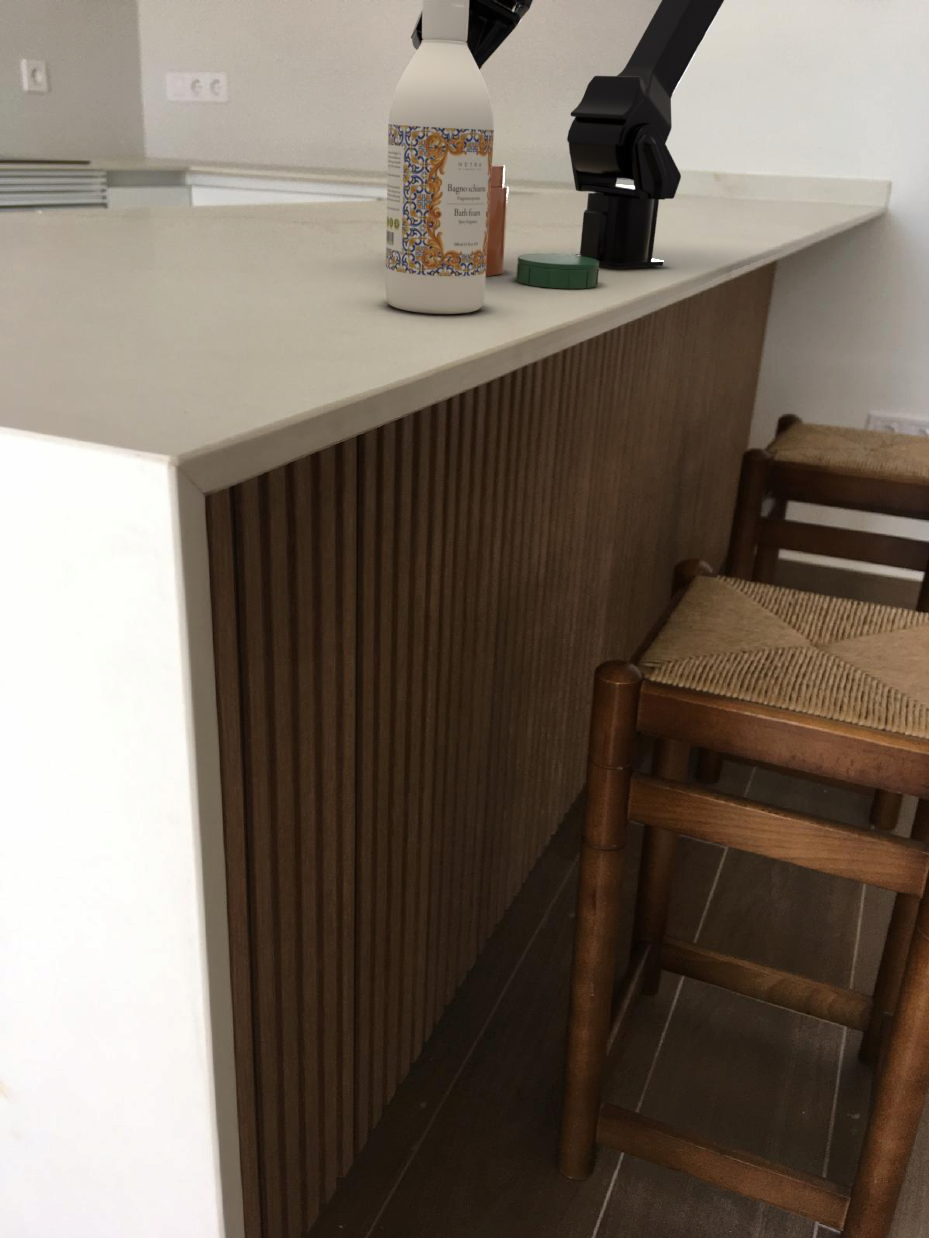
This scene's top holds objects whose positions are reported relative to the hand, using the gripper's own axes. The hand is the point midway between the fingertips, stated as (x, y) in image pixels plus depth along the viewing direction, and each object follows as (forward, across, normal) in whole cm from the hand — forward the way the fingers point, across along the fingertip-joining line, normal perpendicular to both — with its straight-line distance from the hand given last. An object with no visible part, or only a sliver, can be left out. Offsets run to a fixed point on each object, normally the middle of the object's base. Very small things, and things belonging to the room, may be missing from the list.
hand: (428, 117), depth 84 cm
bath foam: (+15, +13, +4) cm, 20 cm away
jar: (+8, -6, +8) cm, 13 cm away
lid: (+6, 0, +14) cm, 15 cm away
